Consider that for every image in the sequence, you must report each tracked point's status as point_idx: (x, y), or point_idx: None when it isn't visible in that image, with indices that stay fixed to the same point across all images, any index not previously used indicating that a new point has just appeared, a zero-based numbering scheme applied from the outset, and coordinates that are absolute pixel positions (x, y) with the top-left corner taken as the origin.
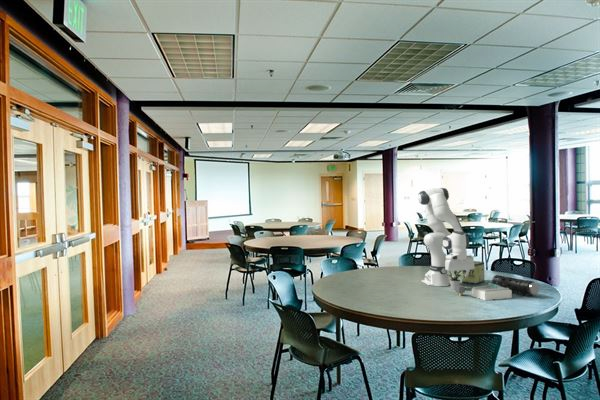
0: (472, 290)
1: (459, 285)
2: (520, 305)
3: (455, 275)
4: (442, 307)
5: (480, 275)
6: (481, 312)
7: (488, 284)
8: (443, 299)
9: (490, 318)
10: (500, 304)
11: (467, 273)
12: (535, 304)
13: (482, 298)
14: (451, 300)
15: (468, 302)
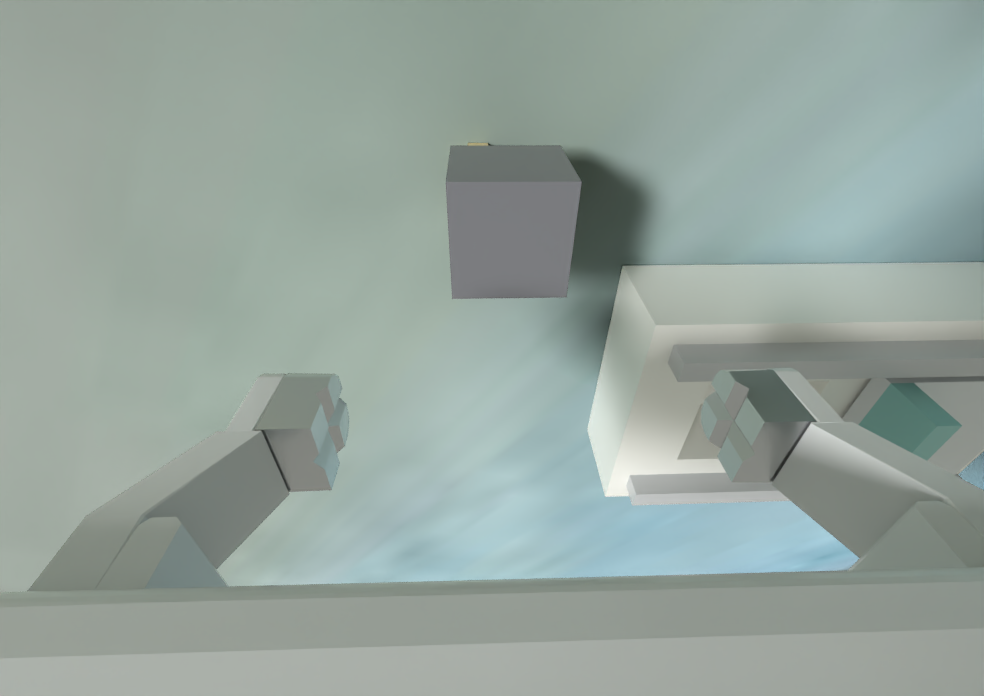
0: (642, 317)
1: (541, 191)
2: (694, 542)
3: (324, 472)
4: (99, 492)
5: None
6: (347, 581)
7: (911, 413)
8: (164, 307)
9: None
10: (597, 513)
11: (787, 490)
12: (800, 543)
13: (594, 414)
14: (253, 361)
15: (395, 441)
